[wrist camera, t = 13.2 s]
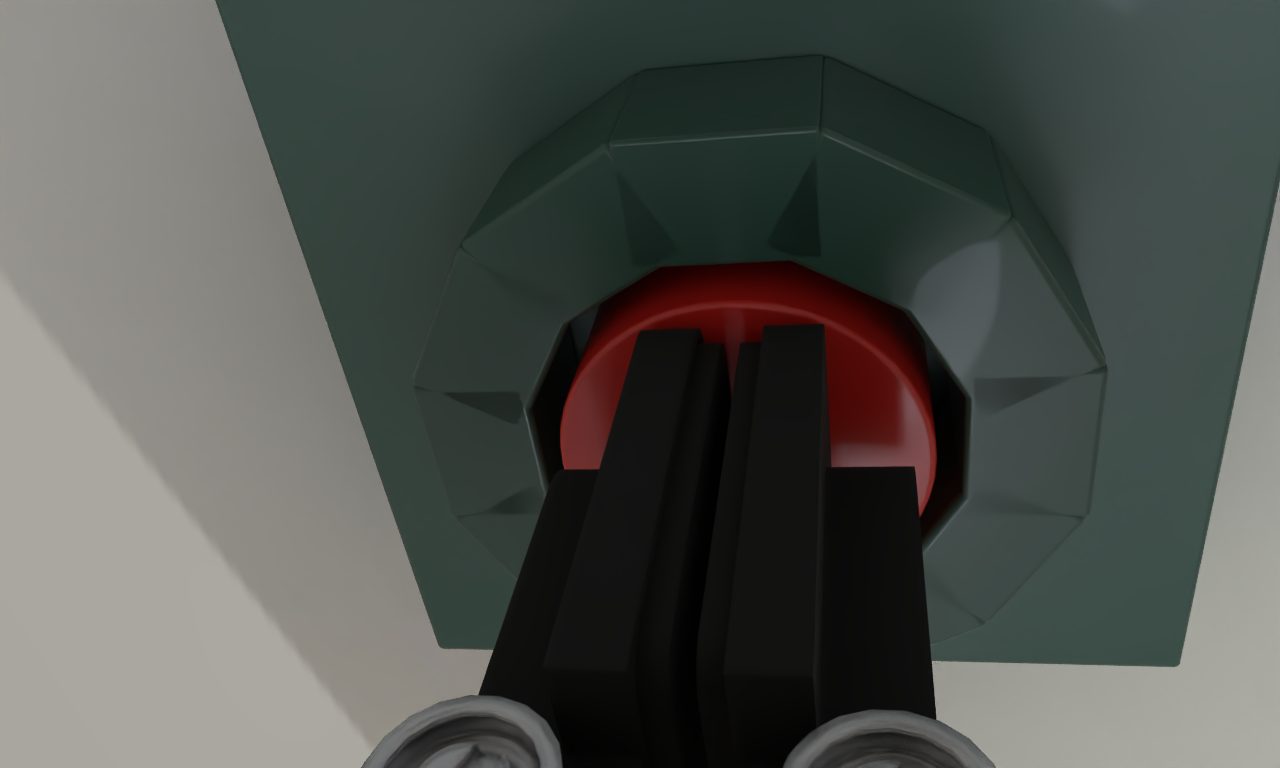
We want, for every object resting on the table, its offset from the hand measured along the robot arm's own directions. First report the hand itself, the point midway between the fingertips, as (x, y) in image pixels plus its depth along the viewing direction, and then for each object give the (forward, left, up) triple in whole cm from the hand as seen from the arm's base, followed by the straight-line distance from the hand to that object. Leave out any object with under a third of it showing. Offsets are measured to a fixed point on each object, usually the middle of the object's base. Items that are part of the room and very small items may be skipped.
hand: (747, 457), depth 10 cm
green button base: (0, 0, -4) cm, 4 cm away
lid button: (0, 0, -2) cm, 2 cm away
